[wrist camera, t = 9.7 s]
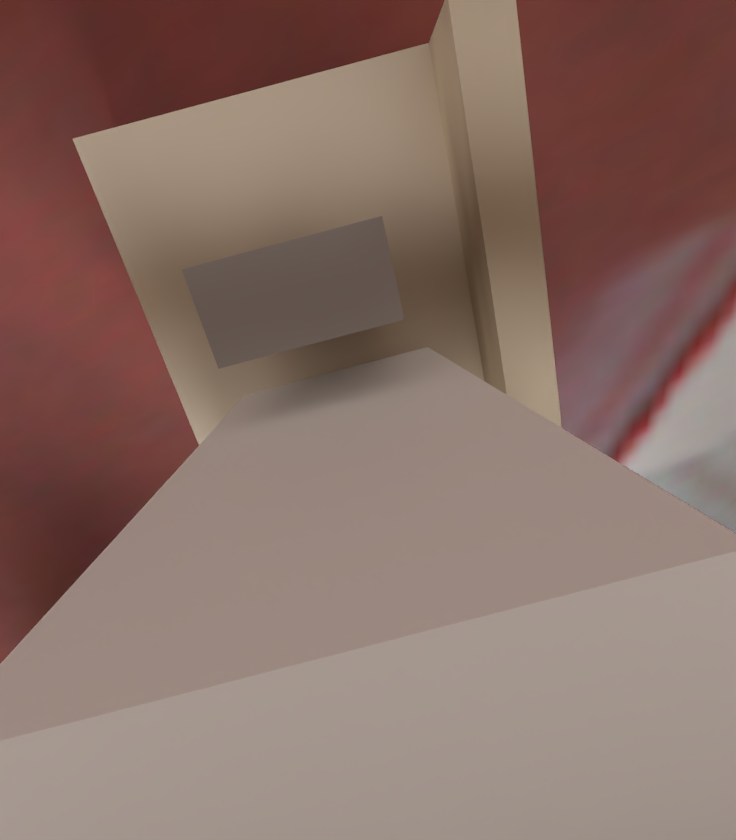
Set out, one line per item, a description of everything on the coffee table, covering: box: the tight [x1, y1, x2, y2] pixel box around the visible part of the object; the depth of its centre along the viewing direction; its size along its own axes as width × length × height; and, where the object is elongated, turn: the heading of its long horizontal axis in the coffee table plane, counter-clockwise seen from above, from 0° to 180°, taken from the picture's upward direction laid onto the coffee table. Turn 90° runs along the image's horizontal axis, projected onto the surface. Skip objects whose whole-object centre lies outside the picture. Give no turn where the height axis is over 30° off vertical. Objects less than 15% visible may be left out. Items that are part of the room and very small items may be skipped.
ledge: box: [73, 0, 562, 445], centre depth 12 cm, size 24×9×6 cm, turn 14°
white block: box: [0, 347, 736, 840], centre depth 8 cm, size 12×5×8 cm, turn 14°
